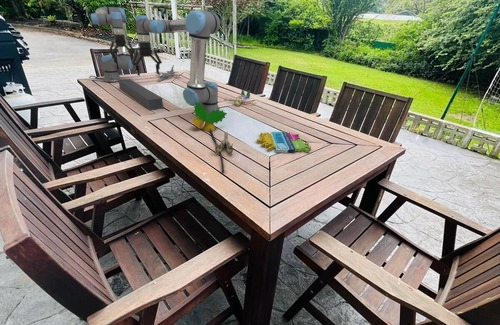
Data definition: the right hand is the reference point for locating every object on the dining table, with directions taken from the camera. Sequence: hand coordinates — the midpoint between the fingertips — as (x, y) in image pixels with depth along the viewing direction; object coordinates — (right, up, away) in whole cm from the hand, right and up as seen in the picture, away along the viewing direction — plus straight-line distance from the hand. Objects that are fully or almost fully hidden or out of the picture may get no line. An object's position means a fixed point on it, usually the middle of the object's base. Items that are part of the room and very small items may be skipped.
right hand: (148, 74), depth 184 cm
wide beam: (-19, -9, +29) cm, 36 cm away
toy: (+65, -11, +36) cm, 75 cm away
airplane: (-17, +29, +96) cm, 102 cm away
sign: (+90, -51, -32) cm, 109 cm away
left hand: (-35, +23, +36) cm, 55 cm away
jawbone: (+58, -56, -46) cm, 93 cm away
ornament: (+46, -41, -20) cm, 65 cm away
